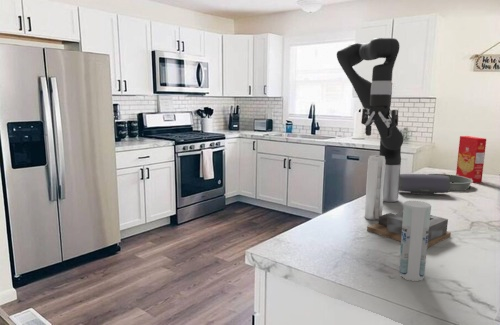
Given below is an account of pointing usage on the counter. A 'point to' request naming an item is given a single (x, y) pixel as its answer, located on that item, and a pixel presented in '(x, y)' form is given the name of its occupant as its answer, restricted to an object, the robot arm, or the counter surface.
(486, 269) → the counter surface
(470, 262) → the counter surface
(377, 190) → the paper towel roll
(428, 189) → the bluetooth speaker
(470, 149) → the food packaging
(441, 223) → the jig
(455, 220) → the counter surface
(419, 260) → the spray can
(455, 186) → the cake pan
